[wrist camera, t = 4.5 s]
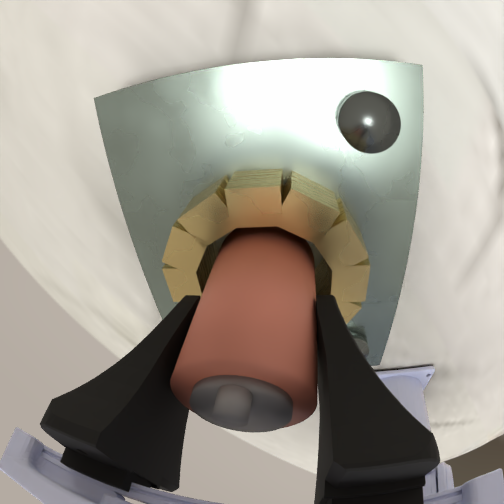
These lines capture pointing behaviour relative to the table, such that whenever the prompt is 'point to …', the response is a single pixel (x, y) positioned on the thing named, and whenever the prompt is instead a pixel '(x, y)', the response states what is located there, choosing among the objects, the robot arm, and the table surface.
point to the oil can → (253, 335)
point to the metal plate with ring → (274, 174)
